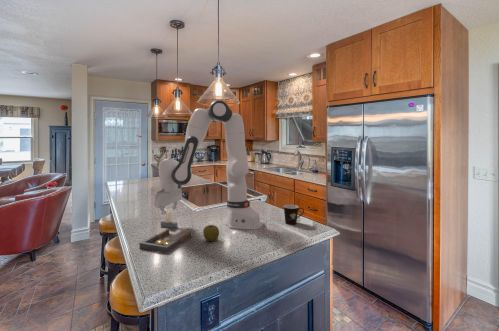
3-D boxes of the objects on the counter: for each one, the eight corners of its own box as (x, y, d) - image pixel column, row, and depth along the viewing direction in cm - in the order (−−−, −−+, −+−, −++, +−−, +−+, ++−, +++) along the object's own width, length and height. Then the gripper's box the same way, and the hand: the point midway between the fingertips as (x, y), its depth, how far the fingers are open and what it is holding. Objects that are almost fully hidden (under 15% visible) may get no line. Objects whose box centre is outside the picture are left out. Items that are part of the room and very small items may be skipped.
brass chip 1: (166, 242, 127) (166, 239, 127) (162, 246, 123) (162, 243, 123) (158, 242, 128) (158, 239, 128) (153, 246, 124) (153, 242, 123)
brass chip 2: (174, 244, 125) (174, 241, 125) (168, 248, 121) (168, 244, 121) (167, 243, 127) (167, 240, 126) (161, 246, 123) (161, 243, 122)
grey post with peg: (177, 227, 148) (177, 212, 147) (175, 228, 146) (174, 213, 145) (163, 225, 152) (162, 210, 151) (160, 226, 150) (160, 211, 149)
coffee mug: (282, 225, 152) (282, 208, 151) (284, 220, 160) (284, 204, 159) (303, 226, 149) (303, 209, 148) (303, 221, 157) (304, 205, 156)
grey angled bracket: (180, 244, 125) (180, 239, 124) (166, 253, 115) (166, 247, 115) (154, 240, 130) (154, 235, 130) (139, 248, 121) (139, 242, 120)
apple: (211, 236, 135) (211, 222, 134) (222, 240, 130) (222, 226, 129) (200, 240, 129) (199, 226, 128) (211, 244, 124) (210, 230, 123)
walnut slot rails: (191, 237, 134) (191, 232, 133) (180, 244, 125) (180, 238, 125) (167, 233, 139) (166, 229, 138) (155, 239, 130) (155, 234, 130)
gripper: (160, 191, 136) (161, 217, 137) (183, 184, 155) (184, 207, 156) (150, 191, 138) (152, 216, 140) (174, 184, 157) (175, 206, 159)
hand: (169, 211), depth 148 cm, fingers open, 8 cm apart
